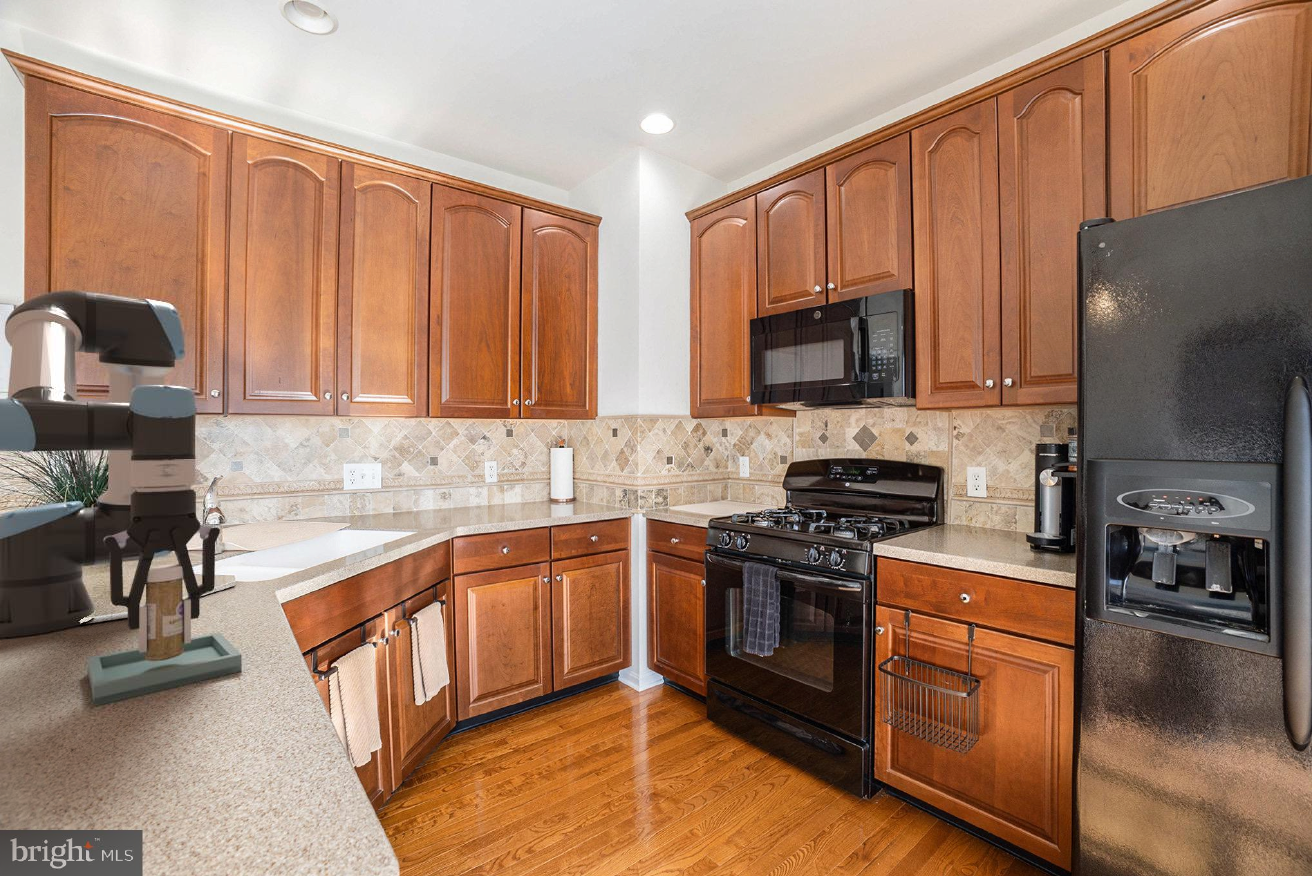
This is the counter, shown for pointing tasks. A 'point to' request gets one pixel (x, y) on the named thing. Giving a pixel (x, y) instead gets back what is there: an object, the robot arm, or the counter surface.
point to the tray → (160, 669)
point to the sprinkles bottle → (164, 612)
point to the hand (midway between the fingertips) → (164, 645)
